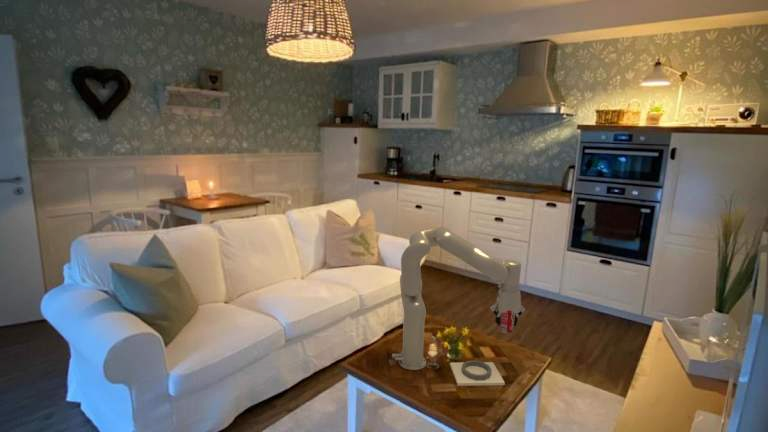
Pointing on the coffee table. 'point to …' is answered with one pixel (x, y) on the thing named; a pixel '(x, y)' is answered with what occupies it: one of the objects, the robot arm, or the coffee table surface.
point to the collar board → (476, 373)
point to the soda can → (507, 322)
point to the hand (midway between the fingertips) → (506, 324)
